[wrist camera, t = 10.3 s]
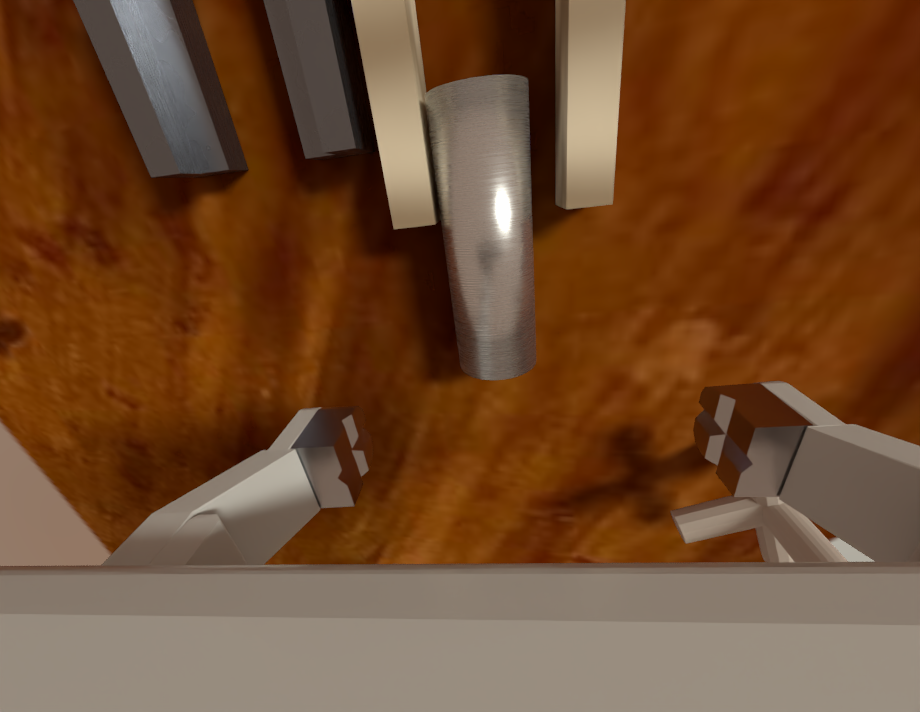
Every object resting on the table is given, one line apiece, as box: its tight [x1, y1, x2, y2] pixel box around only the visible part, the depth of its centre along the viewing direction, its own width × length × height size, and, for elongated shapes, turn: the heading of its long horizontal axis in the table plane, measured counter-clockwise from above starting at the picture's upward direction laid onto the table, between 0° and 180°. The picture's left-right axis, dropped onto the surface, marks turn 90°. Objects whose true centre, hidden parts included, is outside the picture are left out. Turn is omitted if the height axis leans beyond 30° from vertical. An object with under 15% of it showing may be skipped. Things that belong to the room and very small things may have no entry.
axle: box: [424, 75, 536, 380], centre depth 18 cm, size 13×4×4 cm, turn 7°
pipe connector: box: [670, 495, 848, 562], centre depth 20 cm, size 10×10×10 cm
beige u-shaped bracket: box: [351, 0, 626, 229], centre depth 15 cm, size 14×10×3 cm
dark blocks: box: [73, 0, 375, 178], centre depth 16 cm, size 8×10×3 cm
